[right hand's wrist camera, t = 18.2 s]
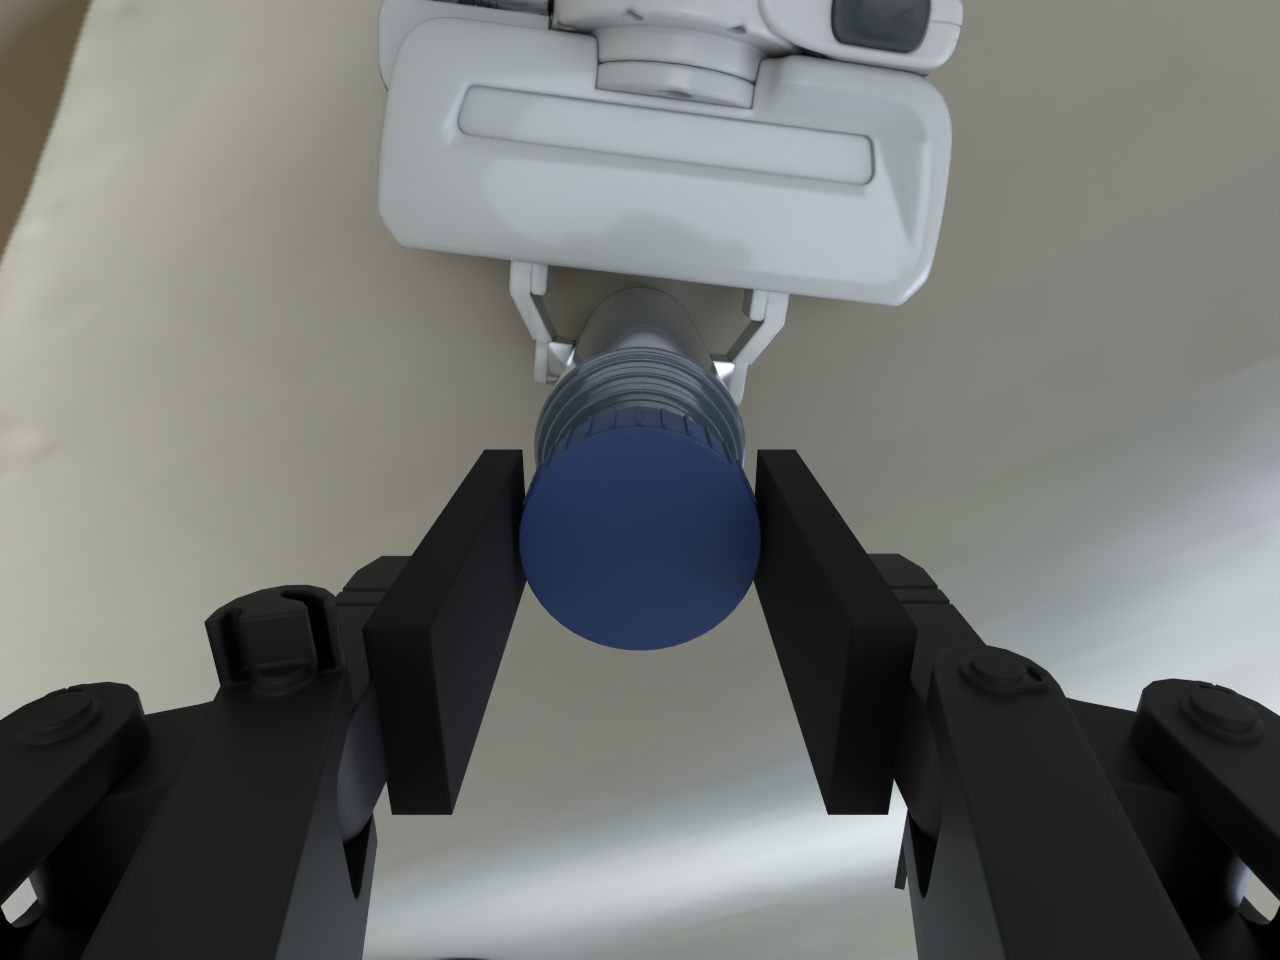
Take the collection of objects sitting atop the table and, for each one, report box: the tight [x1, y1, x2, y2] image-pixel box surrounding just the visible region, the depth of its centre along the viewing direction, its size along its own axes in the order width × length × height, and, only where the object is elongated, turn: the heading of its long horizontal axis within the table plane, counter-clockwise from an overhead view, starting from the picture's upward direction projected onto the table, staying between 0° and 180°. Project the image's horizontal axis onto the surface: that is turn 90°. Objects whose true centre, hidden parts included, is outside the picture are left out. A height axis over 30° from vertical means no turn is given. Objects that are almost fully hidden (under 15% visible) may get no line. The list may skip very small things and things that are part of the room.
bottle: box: [534, 288, 746, 469], centre depth 24 cm, size 6×6×22 cm
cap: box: [519, 406, 761, 650], centre depth 13 cm, size 5×5×2 cm
